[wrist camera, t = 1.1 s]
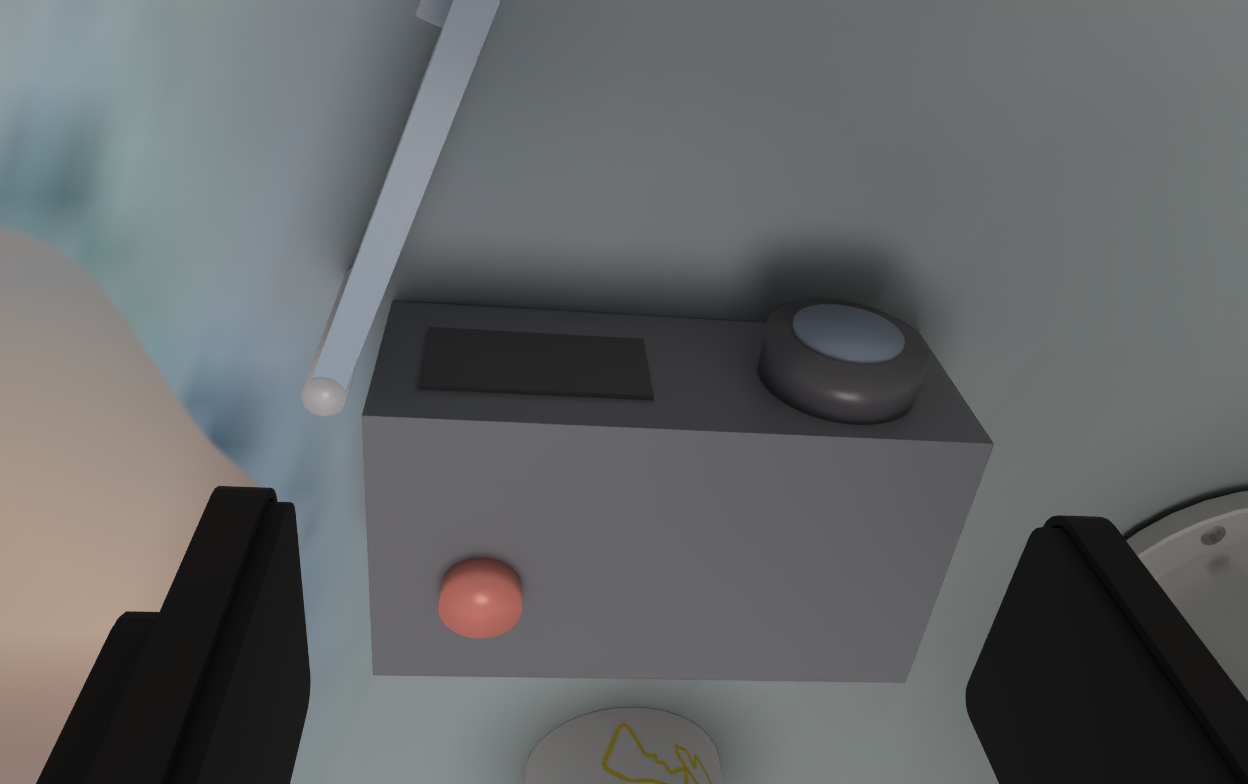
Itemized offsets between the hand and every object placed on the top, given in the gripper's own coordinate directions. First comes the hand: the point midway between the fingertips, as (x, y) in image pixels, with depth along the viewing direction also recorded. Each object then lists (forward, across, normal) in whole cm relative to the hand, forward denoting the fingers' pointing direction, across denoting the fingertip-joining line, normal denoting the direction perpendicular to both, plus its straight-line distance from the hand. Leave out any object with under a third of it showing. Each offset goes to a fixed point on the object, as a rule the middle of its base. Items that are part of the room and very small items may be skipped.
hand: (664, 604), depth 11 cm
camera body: (+18, -3, +10) cm, 21 cm away
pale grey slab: (+18, +5, +1) cm, 18 cm away
